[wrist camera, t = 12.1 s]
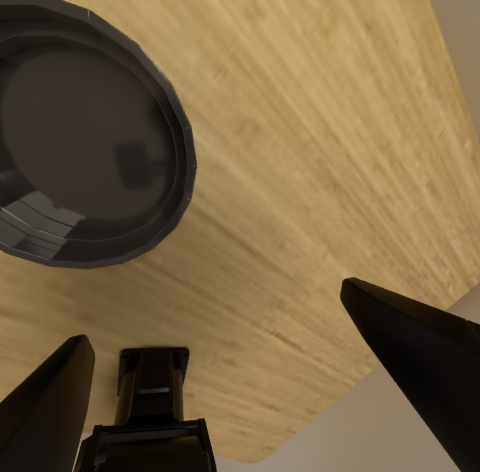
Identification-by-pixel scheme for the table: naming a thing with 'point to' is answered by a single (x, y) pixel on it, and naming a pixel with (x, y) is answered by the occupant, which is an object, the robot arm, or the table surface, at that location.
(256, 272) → the table surface
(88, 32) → the pan
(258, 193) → the table surface
